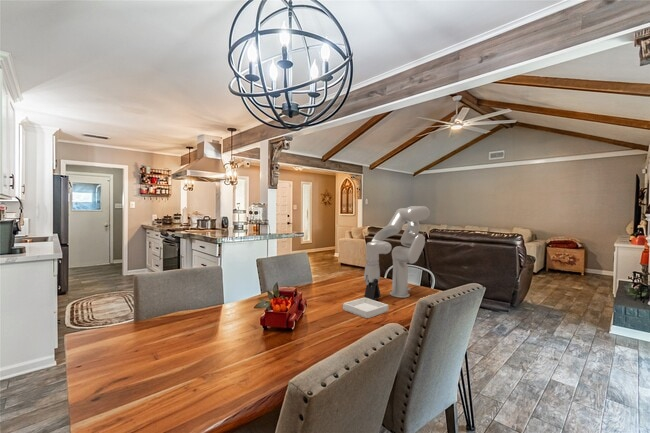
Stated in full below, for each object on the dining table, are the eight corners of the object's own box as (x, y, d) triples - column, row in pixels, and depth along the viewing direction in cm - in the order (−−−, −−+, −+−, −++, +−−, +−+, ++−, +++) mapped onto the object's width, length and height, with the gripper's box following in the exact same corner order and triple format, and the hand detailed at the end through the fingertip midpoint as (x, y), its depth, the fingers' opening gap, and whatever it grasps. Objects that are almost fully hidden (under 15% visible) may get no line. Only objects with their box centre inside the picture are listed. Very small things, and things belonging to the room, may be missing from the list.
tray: (364, 303, 176) (364, 297, 176) (388, 311, 164) (388, 304, 164) (342, 309, 164) (343, 303, 164) (366, 318, 152) (367, 312, 152)
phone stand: (371, 300, 177) (371, 280, 177) (363, 298, 182) (363, 278, 181) (381, 297, 183) (381, 277, 183) (373, 294, 188) (373, 275, 187)
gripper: (375, 260, 189) (375, 288, 190) (359, 263, 179) (359, 294, 180) (385, 261, 184) (385, 291, 185) (368, 265, 173) (368, 297, 174)
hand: (372, 292), depth 182 cm, fingers closed on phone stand, 1 cm apart
